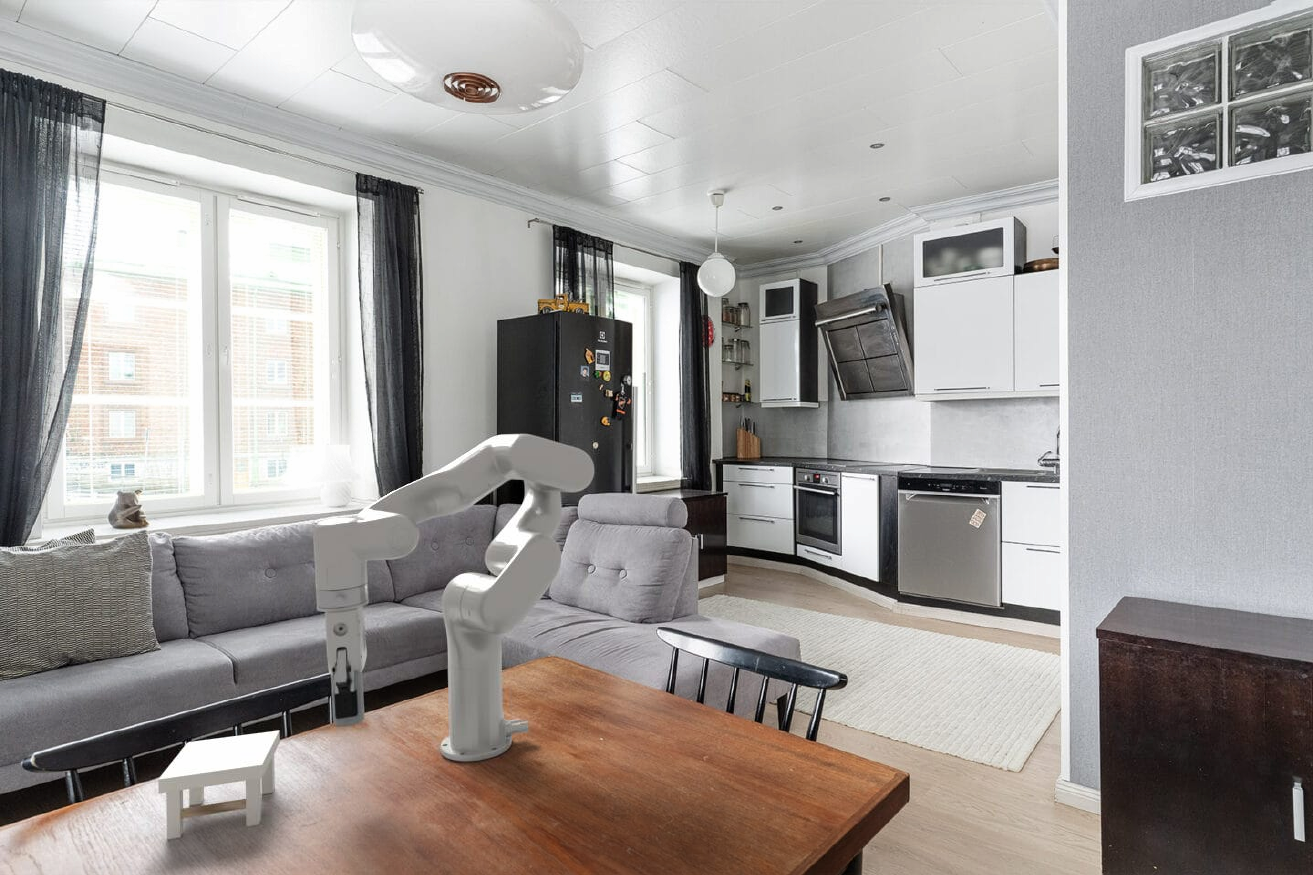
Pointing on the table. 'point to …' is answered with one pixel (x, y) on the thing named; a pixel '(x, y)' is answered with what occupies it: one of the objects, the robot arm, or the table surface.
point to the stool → (219, 776)
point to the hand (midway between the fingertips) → (348, 709)
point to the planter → (359, 687)
